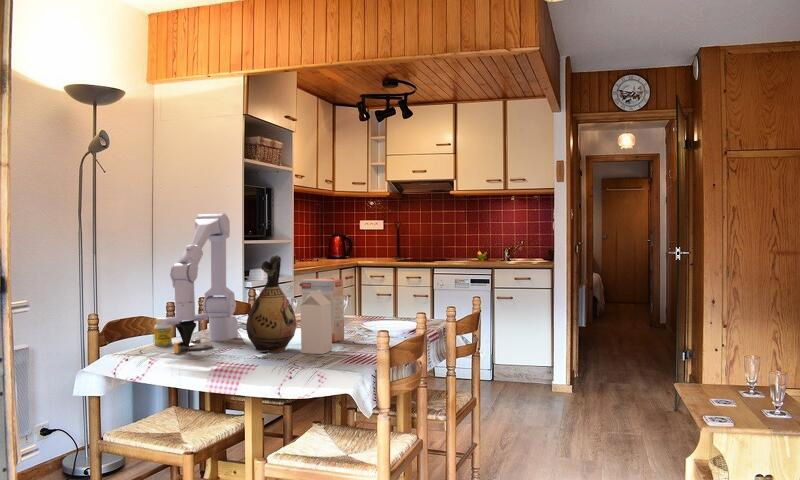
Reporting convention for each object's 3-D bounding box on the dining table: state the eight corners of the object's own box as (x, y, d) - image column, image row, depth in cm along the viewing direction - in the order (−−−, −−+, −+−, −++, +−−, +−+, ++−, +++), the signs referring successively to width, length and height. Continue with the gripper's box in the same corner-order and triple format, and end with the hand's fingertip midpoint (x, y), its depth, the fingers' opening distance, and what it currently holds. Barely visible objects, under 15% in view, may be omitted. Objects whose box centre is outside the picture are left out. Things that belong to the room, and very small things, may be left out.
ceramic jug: (290, 355, 203) (288, 256, 202) (240, 355, 204) (238, 257, 203) (302, 345, 220) (300, 254, 219) (256, 345, 221) (254, 254, 220)
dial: (193, 344, 219) (192, 334, 219) (218, 345, 216) (218, 335, 215) (162, 352, 205) (162, 342, 205) (189, 354, 202) (189, 343, 202)
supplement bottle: (169, 344, 225) (168, 316, 225) (173, 347, 221) (172, 318, 220) (152, 346, 222) (152, 318, 222) (156, 349, 218) (155, 319, 217)
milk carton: (332, 350, 209) (330, 290, 209) (322, 354, 203) (320, 292, 202) (311, 349, 212) (310, 289, 211) (301, 353, 205) (299, 292, 204)
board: (196, 343, 226) (196, 340, 226) (241, 348, 217) (241, 344, 217) (148, 354, 209) (148, 350, 209) (195, 359, 199) (195, 355, 199)
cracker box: (345, 340, 228) (343, 278, 227) (334, 343, 223) (332, 280, 222) (313, 337, 235) (312, 277, 235) (302, 339, 230) (300, 279, 230)
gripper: (198, 299, 213) (199, 341, 214) (156, 304, 202) (157, 348, 202) (211, 300, 209) (212, 343, 209) (168, 305, 198) (170, 351, 198)
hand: (186, 346), depth 205 cm, fingers closed, pressing on dial
